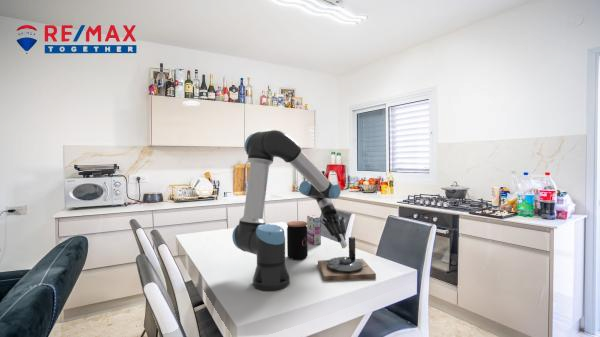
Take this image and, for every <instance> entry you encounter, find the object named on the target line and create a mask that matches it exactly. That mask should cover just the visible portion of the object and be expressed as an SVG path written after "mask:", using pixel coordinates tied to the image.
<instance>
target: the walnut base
mask: <svg viewBox="0 0 600 337" xmlns="http://www.w3.org/2000/svg"><path fill="white" fill-rule="evenodd" d="M357 259H358V260H360V261H362V263H363V268H362V269H361V270H359V271H356V272H349V273H345V272H337V271H333V270H331V269H329V268H328V267H327V261H328V260H329V259H324V260H323V259H322V260H320V259H319V260H317V266H318V268H319V271H320V273H321V275H322V279H323V281H324V282H328V281H329V282H330V281H348V280H349V281H351V280H369V279H370V280H373V278H375V279H377V274H376V272H375V271H374V270H373V269H372V268H371V267H370V266H369V264H368V263H367V262H366V261H365V259H363V258H357Z"/></svg>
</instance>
